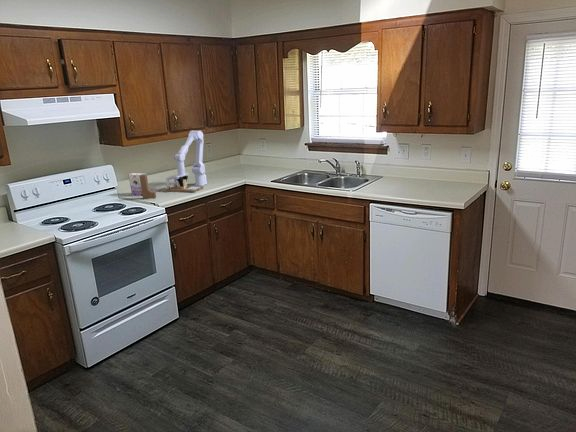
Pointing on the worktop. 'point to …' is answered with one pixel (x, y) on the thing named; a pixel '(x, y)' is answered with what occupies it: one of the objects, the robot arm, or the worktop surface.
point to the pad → (192, 188)
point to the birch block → (184, 185)
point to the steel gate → (170, 179)
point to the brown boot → (146, 188)
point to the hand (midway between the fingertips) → (183, 185)
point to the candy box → (135, 183)
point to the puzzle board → (177, 189)
